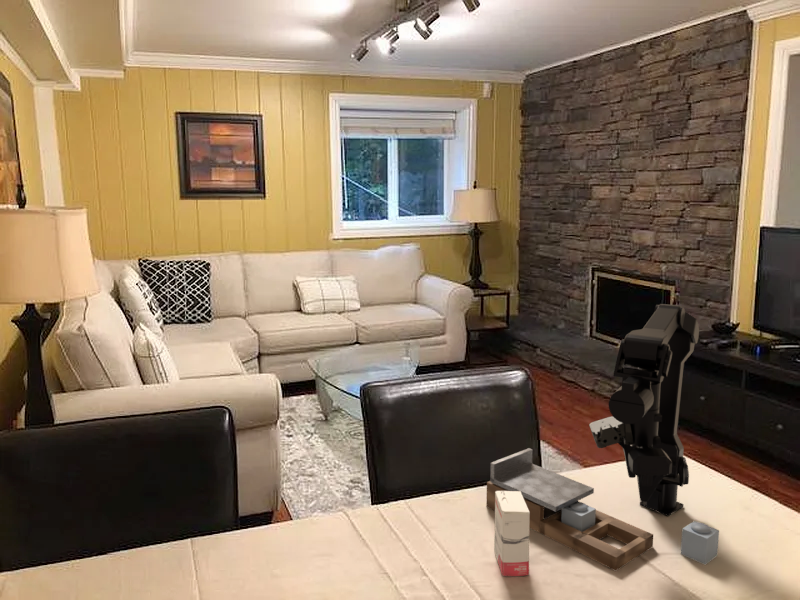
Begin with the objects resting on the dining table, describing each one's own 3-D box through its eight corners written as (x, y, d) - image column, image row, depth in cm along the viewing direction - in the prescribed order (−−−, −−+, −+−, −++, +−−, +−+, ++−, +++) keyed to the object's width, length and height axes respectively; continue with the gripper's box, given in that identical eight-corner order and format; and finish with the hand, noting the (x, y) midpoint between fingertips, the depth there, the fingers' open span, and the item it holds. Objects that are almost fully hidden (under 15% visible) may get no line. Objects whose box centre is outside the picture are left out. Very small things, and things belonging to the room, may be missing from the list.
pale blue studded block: (575, 524, 130) (576, 498, 129) (594, 533, 126) (595, 506, 125) (561, 531, 127) (561, 504, 126) (580, 540, 124) (581, 513, 123)
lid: (528, 466, 143) (528, 448, 142) (593, 493, 130) (594, 473, 129) (490, 482, 135) (490, 462, 135) (555, 511, 123) (556, 490, 122)
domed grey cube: (692, 545, 122) (694, 518, 121) (717, 556, 118) (719, 527, 117) (680, 554, 119) (682, 526, 118) (705, 565, 115) (707, 536, 114)
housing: (524, 489, 145) (524, 466, 144) (652, 547, 121) (654, 519, 120) (486, 506, 137) (486, 482, 136) (615, 570, 114) (617, 542, 113)
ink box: (529, 576, 112) (531, 512, 110) (501, 577, 112) (502, 512, 110) (519, 549, 121) (521, 489, 119) (493, 549, 121) (494, 489, 119)
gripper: (585, 387, 124) (583, 464, 127) (603, 424, 106) (600, 513, 109) (647, 388, 123) (642, 466, 126) (675, 426, 105) (670, 516, 108)
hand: (637, 488), depth 117 cm, fingers open, 9 cm apart
